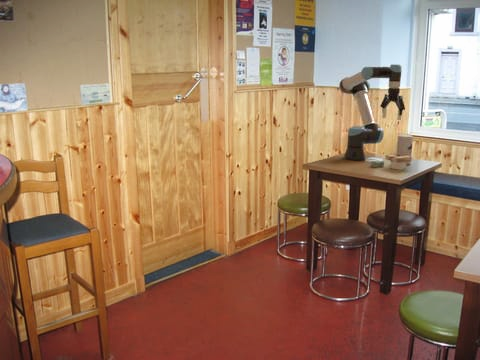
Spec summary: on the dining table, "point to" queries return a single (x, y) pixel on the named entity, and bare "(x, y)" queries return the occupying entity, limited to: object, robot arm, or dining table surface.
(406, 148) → the container
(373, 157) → the dining table surface
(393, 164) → the bowl
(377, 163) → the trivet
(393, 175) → the dining table surface
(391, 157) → the lid
